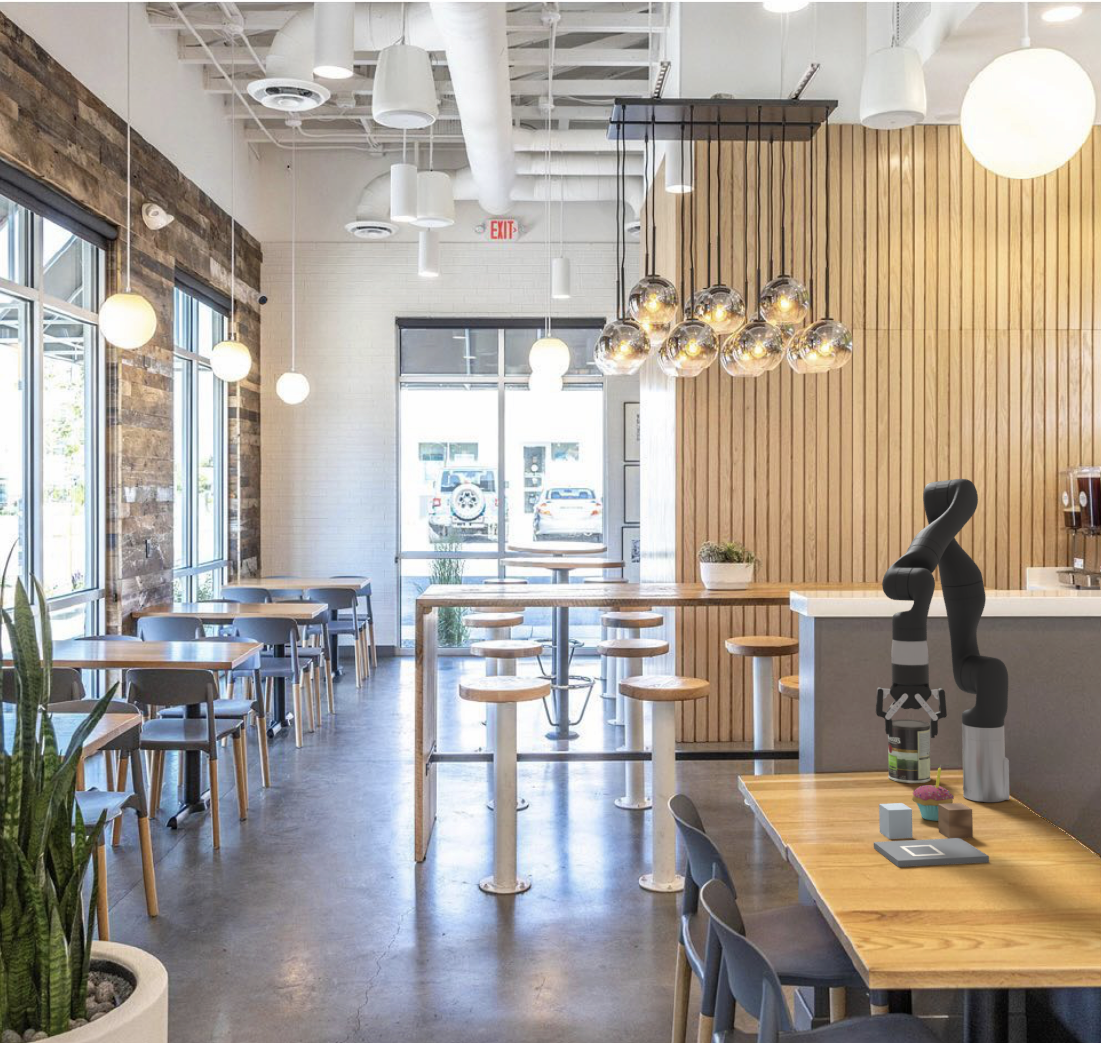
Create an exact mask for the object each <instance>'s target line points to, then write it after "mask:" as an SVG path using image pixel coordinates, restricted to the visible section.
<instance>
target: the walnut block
mask: <svg viewBox="0 0 1101 1043" xmlns="http://www.w3.org/2000/svg"><path fill="white" fill-rule="evenodd" d="M937 824H938V833H939V834H940V835H942V836H944V837H945V838H946V839H948V838H961V839H962V840H964V839H973V838H974V835H973V834H974V831H973V830H974V826H973V824H974V823H973V808H972V807H969V806H968V805H965V804H964V803H962V802H953V803H948V804H938V822H937Z"/></svg>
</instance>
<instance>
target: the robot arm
mask: <svg viewBox="0 0 1101 1043" xmlns="http://www.w3.org/2000/svg"><path fill="white" fill-rule="evenodd" d="M977 490H978V489H977V488H976V486H975V484H974V483H973V481H971V480H970V479H967V478H955V479H947V480H939V481H938V480H937V481H932V482H929V483H927V484H926V485H925V487H924V489H923V493H922V494H923V496H922V499H923V507H924V512H925V516H926V520H927V524H928V525H926V526H925V527H924V528H922V529H921V530H920V531H919V532H918V533H917V534H916V535H915V536H914V538H913V539H912V541H911V543H910V544H909V547H908V548H907V550H906V551H905V553H904V554H903V555H902V556H900V557H899V558H898V559H897V560H896V561H895V562H893V564H891V565H890V566H889V567H888V568H887V569H886V571H885V574H884V575H883V579H882V584H881V585H882V586H881V587H882V590H883V594H884V595H885V596H886V597H887V598H889V599H890V600H893V601H908V602H909V601H911V602H913V604H912V606H911V607H910V609H909V610H905V611H899V612H895V613H894V614H893V615H892V619H891V620H892V621H891V625H892V626H891V628H892V629H891V634H892V635H891V637H892V642H891V652H890V653H891V656H890V657H891V658H890V659H891V687H890V688H882V687H880V686H879V687H877V688H876V697H875V700H876V702H875V713H876V714H875V715H876V716H877V717H880V718H882V719H884V731H885V733H886V735H887V736H888V735H889V737H893V732H892V720H893V716H894V715H895V714H896V713H897V712H898V710H899V709H900V708H901V709H902V710H909V709H913V710H919V709H922V708H923V710H924V711H925V712H926V713H927V714H928V716H929V718H930V719H929V723H930V739H935V736H938V734H939V733H938V731H939V729H938V728H939V726H938V725H939V724H938V722H939V720H940V719H946V718H947V715H948V714H947V702H946V692H945V689H944V688H942V687H939V688H938V689H937V688H935V689H931V687H930V680H929V679H930V676H929V675H930V672H929V670H930V668H929V661H930V656H929V647H928V641H927V640H928V634H927V633H928V632H927V630H928V625H927V623H928V616H929V611H930V607H931V603H932V599H933V597H934V592H935V589H936V588H935V587H936V582H935V580H936V579H935V577H934V575H933V573H934V571H935V570H936V569H937V567H938V572H939V580H940V586H941V591H942V592H941V593H942V598H943V602H944V606H945V610H946V611H945V612H946V618H947V623H948V631H949V638H950V652H951V663H952V664H951V665H952V666H951V667H952V674H953V679H954V682H955V684H956V686H957V687H958V689H959V690H960V691H962V692H964V693H967V694H971V695H975V696H976V697H975V704H974V706H973V707H972V708H968V709H965V710H964V711H963V712H962V714H961V729H962V730H961V736H962V737H961V739H962V791H963V792H962V793H963V794H962V795H963V797H964V798H965V799H966V800H967V799H968V800H970V801H974V802H981V803H983V802H984V803H1000V802H1004V801H1009V800H1010V760H1009V758H1007V757H1006V752H1005V751H1006V750H1005V747H1006V745H1005V743H1006V742H1005V740H1006V739H1005V720H1006V719H1005V718H1006V715H1007V712H1008V708H1009V707H1008V705H1009V704H1008V703H1009V674H1008V670H1007V669H1008V668H1007V666H1006V664H1005V662H1004V661H1002V660H1001V659H999V658H996V657H993V656H988V655H987V656H986V655H981V653H980V650H979V645H978V644H979V643H978V639H977V638H978V635H977V630H978V626H979V623H980V620H981V617H982V615H983V613H984V610H985V606H986V600H987V598H986V596H987V595H986V591H985V585H984V580H983V579H984V578H983V574H982V572H981V570H980V568H979V566H978V565H977V563H976V562H975V561H974V560H973V559H972V557H971V556H970V555H969V554H968V553H967V552H966V550H964V549H963V547H962V546H961V545H960V543H959V542H958V541H957V539H956V538H955V537H956V536H957V535H958V534H959V532H960V531H962V529H963V528H964V526H965V525H966V524H967V523H968V522H969V520H971V518H972V517H973V516H974V514H975V512H976V511H977V507H978V502H979V496H978V491H977ZM888 695H890V697H892V699H893V700H894V701H892V703H891V704H890V706H889V707H888V708H887V710H886V711H885V710H883V709H884V708H883V706H884V699H886V698H887V697H888ZM931 696H934V699H936V700H937V701H938V703H937V704H938V711H936V712H935V711H934V710H933V709H932V707H930V705H929V704H928V703H927V702H928V700H929V699H930V698H931Z"/></svg>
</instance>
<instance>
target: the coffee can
mask: <svg viewBox="0 0 1101 1043" xmlns="http://www.w3.org/2000/svg"><path fill="white" fill-rule="evenodd" d="M892 732H893V737H889V735H888V734H887V739H888V740H887V742H888V743H887V744H888V747H887V748H888V750H887V751H888V779H889V780H891V781H893V782H894V781H895V782H897V783H904V784H905V783H906V784H923V783H924V784H925V783H929V782H930V781H931V778H932V777H931V743H930V742H931V737H930V722H928V721H924V720H920V719H919V720H918V719H909V718H908V719H905V718H904V719H903V718H900V719H892Z"/></svg>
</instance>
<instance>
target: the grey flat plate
mask: <svg viewBox="0 0 1101 1043" xmlns="http://www.w3.org/2000/svg"><path fill="white" fill-rule="evenodd" d="M873 849H874V850H876V851H877V852H878V853H879V854H880V855H881V856H883V857H885V858H886V859H887V860H888V861H890V862H891V863H893V865H895V866H897V867H898V868H903V867H904V868H905V867H906V868H907V867H921V866H922V867H924V866H942V865H944V866H945V865H961V864H962V865H963V864H965V865H966V864H982V863H983V864H984V863H985V864H986V863H990V856H989V855H988V854H986V853H985V852H984V851H982V850H980V849H978V848H977V847H975V846H973V845H972V844H970V843H969V842H967V841H965V840H964V839H961V838H934V839H933V838H931V839H929V838H928V839H913V840H912V839H911V840H910V839H908V840H892V841H891V840H886V841H873Z"/></svg>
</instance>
